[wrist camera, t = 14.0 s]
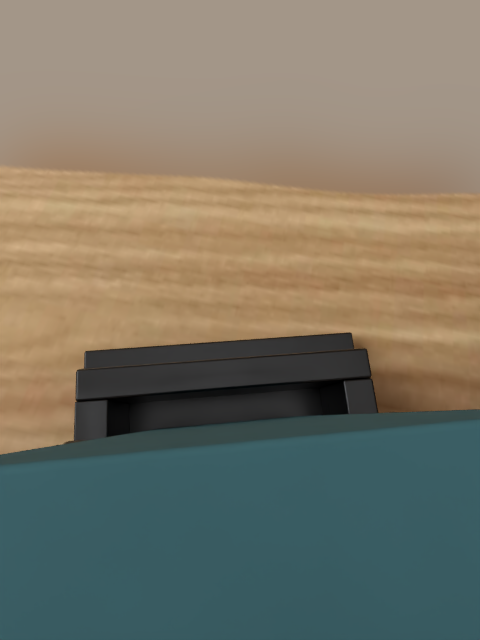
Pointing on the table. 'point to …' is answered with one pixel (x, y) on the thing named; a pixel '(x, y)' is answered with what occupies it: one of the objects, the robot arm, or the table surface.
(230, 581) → the teal rectangular block
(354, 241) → the table surface
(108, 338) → the table surface
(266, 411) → the black square holder
